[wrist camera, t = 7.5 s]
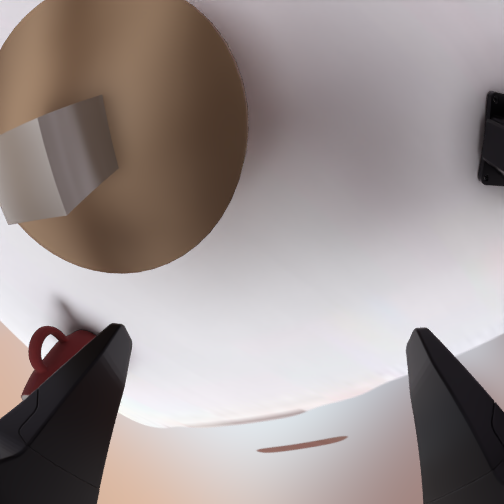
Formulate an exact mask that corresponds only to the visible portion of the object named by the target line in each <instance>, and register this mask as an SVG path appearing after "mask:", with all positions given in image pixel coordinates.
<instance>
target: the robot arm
mask: <svg viewBox="0 0 504 504" xmlns="http://www.w3.org/2000/svg"><path fill="white" fill-rule="evenodd" d="M494 97H495V98H496V100H495V102H494ZM485 175H486V178H485V179H484V177H485ZM478 178H479V181H480V182H481V183H483V184H484V185H495V186H504V94H501V93H498V92H494V91H491V92H489V94H488V98H487V114H486V125H485V135H484V143H483V151H482V157H481V164H480V170H479V177H478ZM131 350H132V340H131V338H130V336H129V334H128V332H127V330H126V328H125V326H124V325H123V324H117V323H112V324H110V325H109V326H107V327H106V328H105V329H104V330H103V331H102V332H100V333H99V334H98V335H97V336H96V337H95V338H93V339H92V340H91V341H90V342H89V343H88V344H87V345H85V346H84V347H83V348H82V349H81V350H80V351H78V352H77V353H76V354H75V355H74V356H73V357H72V358H71V359H69V360H68V361H67V362H66V363H65V364H64V365H63V366H61V367H60V368H59V369H58V370H57V371H56V372H55V373H54V374H52V375H51V376H50V377H49V378H48V379H47V380H46V381H45V382H44V383H42V384H41V385H40V386H39V388H37V389H36V390H35V391H34V392H32V393H31V394H30V395H29V396H28V397H27V398H26V399H25V400H23V401H22V402H21V403H20V404H19V405H17V406H16V407H15V408H14V409H12V410H11V411H10V412H8V413H7V414H6V415H5V416H3V417H2V418H1V419H0V504H97V500H98V495H99V488H100V484H101V479H102V474H103V469H104V465H105V461H106V457H107V452H108V448H109V444H110V440H111V436H112V432H113V428H114V424H115V420H116V416H117V413H118V409H119V405H120V402H121V398H122V395H123V391H124V387H125V382H126V377H127V371H128V366H129V360H130V355H131ZM406 355H407V365H408V376H409V388H410V397H411V403H412V409H413V414H414V421H415V427H416V434H417V441H418V449H419V457H420V466H421V476H422V489H423V504H504V412H503V411H502V409H501V408H500V407H499V406H498V405H497V403H494V400H493V399H492V398H491V397H490V395H489V394H488V393H487V392H486V391H485V390H484V388H483V387H482V386H481V385H480V384H479V383H478V382H477V381H476V380H475V378H474V377H473V376H472V375H471V374H470V373H469V372H468V370H467V369H466V368H465V367H464V366H463V365H462V364H461V363H460V362H459V361H458V360H457V359H456V357H455V356H454V355H453V354H452V353H451V352H450V351H449V350H448V349H447V348H446V347H445V346H444V345H443V344H442V342H441V341H440V340H439V339H438V338H437V337H436V336H435V335H434V334H433V333H432V332H431V331H430V330H429V329H428V328H425V327H424V328H415V329H414V330H413V332H412V335H411V337H410V339H409V341H408V343H407V347H406Z"/></svg>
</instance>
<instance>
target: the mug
mask: <svg viewBox="0 0 504 504" xmlns="http://www.w3.org/2000/svg"><path fill="white" fill-rule="evenodd" d="M50 334H52V335H53V336H54V337H56V338H57V339H58V340H59V341H58V342H57V343H56V344H55V345H54V347H53V348H52V349H51V350H50V351H49V353H48V354H47V355H46V356H45V358H44V359H43V360H42V358H41V347H42V344H43V341H44V340H45V338H46V337H47V336H48V335H50ZM95 337H96V335H95V334H93V333H91V332H89V331H85V330H78V331H75V332H73V333H72V334H70V335H68V336H65V335H64V334H63V333H62V332H61V331H60V330H58V329H57V328H55V327H51V326H43V327H41V328H39V329H38V330H36V332H35V333H34V334H33V336H32V338H31V340H30V344H29V360H30V362H31V365H32V367H33V368H34V369H35V370H34V371H33V373H32V374H31V376H30V378H29V380H28V382H27V384H26V386H25V388H24V390H23V393H22V395H21V398H22V400H25V399H26V398H27V397H28V396H29V395H30V394H31V393H32V392H34V391H35V390H36V389H37V388H39V386H40V385H41V384H42V383H44V382H45V381H46V380H47V379H48V378H49V377H50V376H51V375H52V374H54V373H55V372H56V371H57V370H58V369H59V368H60V367H61V366H63V365H64V364H65V363H66V362H67V361H68V360H69V359H71V358H72V357H73V356H74V355H75V354H76V353H77V352H78V351H80V350H81V349H82V348H83V347H84V346H85V345H87V344H88V343H89V342H90V341H91V340H92V339H93V338H95Z"/></svg>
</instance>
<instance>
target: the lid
mask: <svg viewBox="0 0 504 504" xmlns="http://www.w3.org/2000/svg"><path fill="white" fill-rule="evenodd" d="M247 138H248V106H247V101H246V95H245V90H244V84H243V81H242V78H241V75H240V72H239V69H238V66H237V63H236V61H235V59H234V57H233V55H232V53H231V51H230V49H229V47H228V45H227V43H226V41H225V40H224V39H223V37H222V36H221V34H220V33H219V32H218V30H217V29H216V28H215V26H214V25H213V24H212V23H211V22H210V21H209V20H208V19H207V18H206V17H205V16H204V15H203V14H202V13H201V12H200V11H199V10H198V9H197V8H196V7H194V6H193V5H191V4H190V3H188V2H187V1H185V0H45V1H43V2H42V3H40V4H39V5H38V6H36V7H35V8H34V9H33V10H32V11H31V12H29V13H28V14H27V15H26V16H25V17H24V18H23V19H22V20H21V22H20V23H19V24H18V25H17V26H16V27H15V28H14V30H13V31H12V32H11V34H10V35H9V37H8V38H7V40H6V41H5V42H4V44H3V46H2V48H1V50H0V206H1V208H2V211H3V213H4V216H5V218H6V221H7V223H8V225H11V224H17V223H18V224H19V225H20V226H21V227H22V228H23V229H24V230H25V232H26V233H27V234H28V235H29V236H30V237H32V238H33V239H34V240H35V241H36V242H37V243H39V244H40V245H41V246H43V247H44V248H45V249H47V250H48V251H50V252H51V253H53V254H54V255H56V256H58V257H60V258H62V259H64V260H65V261H68V262H70V263H72V264H75V265H77V266H80V267H83V268H87V269H90V270H94V271H100V272H106V273H135V272H142V271H146V270H151V269H155V268H157V267H160V266H163V265H165V264H168V263H170V262H172V261H174V260H176V259H178V258H179V257H181V256H183V255H184V254H186V253H187V252H189V251H190V250H191V249H193V248H194V247H195V246H197V245H198V244H199V243H200V242H201V241H202V240H203V239H204V238H205V237H206V236H207V235H208V234H209V233H210V232H211V230H212V229H213V228H214V227H215V225H216V224H217V223H218V221H219V220H220V219H221V217H222V216H223V214H224V212H225V210H226V208H227V207H228V205H229V203H230V201H231V199H232V197H233V194H234V192H235V189H236V186H237V184H238V181H239V178H240V175H241V171H242V167H243V163H244V158H245V154H246V148H247Z"/></svg>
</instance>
